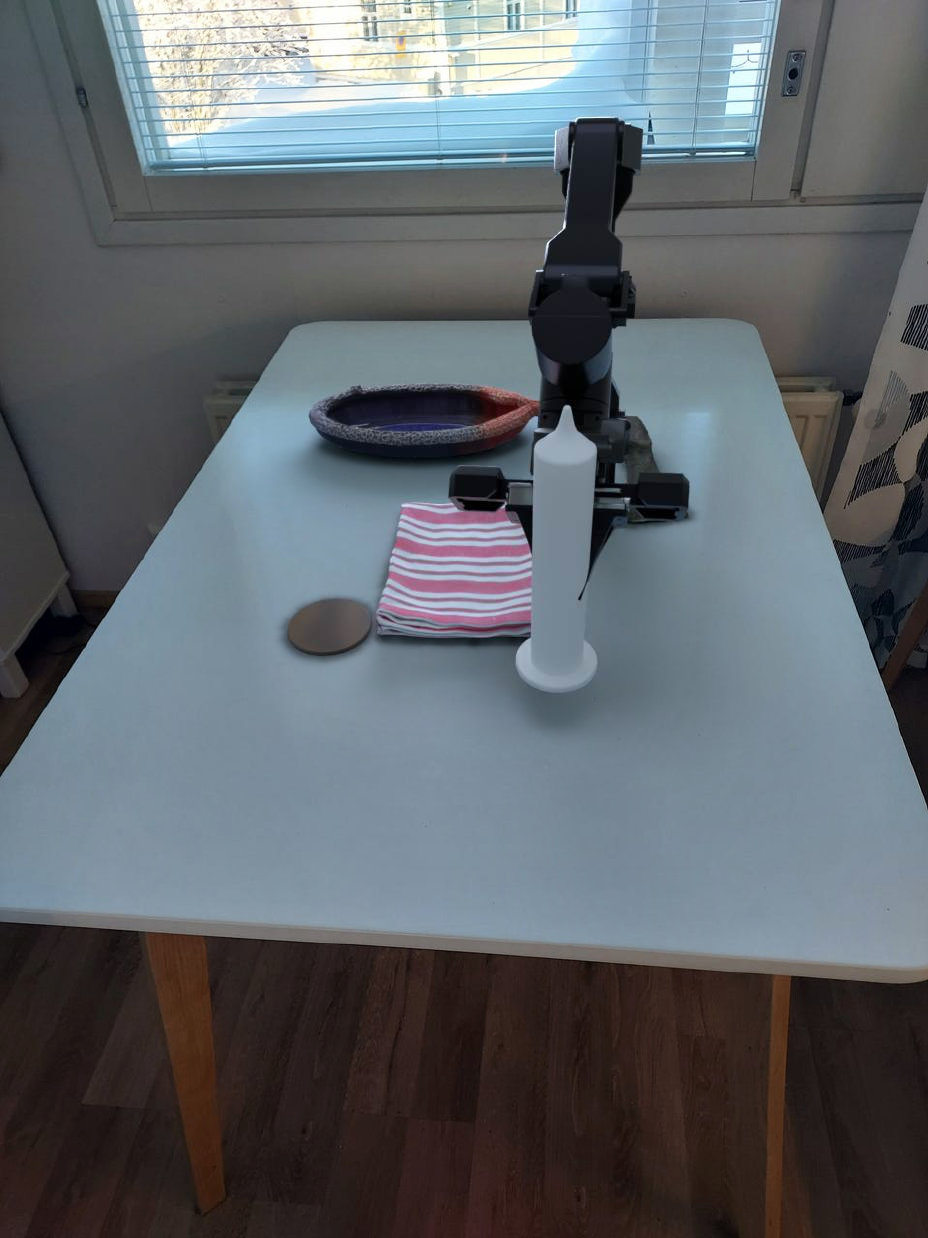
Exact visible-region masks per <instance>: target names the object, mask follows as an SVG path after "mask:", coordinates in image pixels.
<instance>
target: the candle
mask: <svg viewBox="0 0 928 1238" xmlns="http://www.w3.org/2000/svg"><path fill="white" fill-rule="evenodd" d="M596 457H597V448H596V445H595V444H594V443H593V442H591V441H590V440H588V439H587V438H586V437H585V436H583V435H582V434H581V433H580V432H578V431H577V429H576V427H575V425H574V421H573V416H572V411H571V407H570V406H568V405H566V406H564V408H563V411H562V414H561V418H560V421H559V425H558V426H557V428H556V430H555V431H553V432H552V433H550V434H548V435H547V436H545V437H544V438H542V439H540V440H539V441H538V442H537V443H536V444H535V447H534V476H533V479H532V480H533V539H532V599H531V637H528V638H527V639H526V640H525V641H524V642H522V643H521V645H520V646H519V648H518V649H517V652H516V655H515V668H516V671H517V674H518V675H519V677H520V678H521V679H522V680H523V681H524V682H525V683H526V684H528V686H530V687H532V688H535V689H536V690H539V691H542V692H546V693H553V694H561V693H569V692H573V691H576V690H579V689H581V688H583V687H585V686H586V685H588V684H589V683H590V682H591V681H592V680H593V678H594V677H595V675H596V673H597V670H598V663H599V662H598V656H597V652H596V651H595V649H594V647H593V646H592V645H591V644H590V643H589V642H588V641H586V640H585V633H586V619H587V618H586V617H587V605H588V604H587V603H588V589H589V582H587V584H586V587H585V590H584V593H583V595H582V598H581V601H580V600H578V597H579V596H580V594H581V592H582V590H583V588H584V585H585V583H586V579H587V575H588V570H589V560H590V545H591V530H592V516H593V501H594V486H595V472H596Z"/></svg>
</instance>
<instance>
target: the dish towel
mask: <svg viewBox="0 0 928 1238" xmlns="http://www.w3.org/2000/svg"><path fill="white" fill-rule="evenodd" d="M505 505H507V504H506V502H505ZM505 505H504V506H502V507H501V508H500V509H499V510H498V511H497V512H496V513H487V512H465V511H461V510H458V509H457V508H456V507H455V505H454V504H453V503H427V502H417V501H416V502H404V503H402V504H401V506H400V507H401V513H400V515H399V521H398V523H397V531H396V534H395V535H396V539H395V544H394V547H393V549H392V550H391V556H390V558H389V566H388V577H387V580H386V583H385V584H384V585H385V586H384V588H383V590H382V593H381V598H380V600H379V602H378V607H377V610H376V616H375V621H376V623H377V634H378V635H380V636H410V637H417V638H430V639H431V638H435V639H451V638H453V639H454V638H479V639H481V638H482V639H483V638H493V637H510V638H511V637H513V638H515V637H519V638H521V637H522V638H531V599H532V555H531V551H530V547H529V544H528V541H527V539H526V536H525V533H524V531H523V528H522V525H521V524H514V523H511V522H510V520H509V519H508V517H507V515H506V513H505Z"/></svg>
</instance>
